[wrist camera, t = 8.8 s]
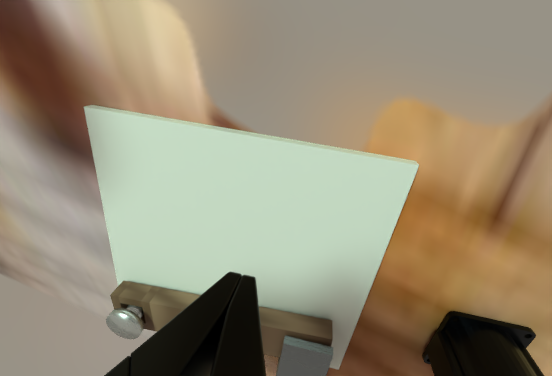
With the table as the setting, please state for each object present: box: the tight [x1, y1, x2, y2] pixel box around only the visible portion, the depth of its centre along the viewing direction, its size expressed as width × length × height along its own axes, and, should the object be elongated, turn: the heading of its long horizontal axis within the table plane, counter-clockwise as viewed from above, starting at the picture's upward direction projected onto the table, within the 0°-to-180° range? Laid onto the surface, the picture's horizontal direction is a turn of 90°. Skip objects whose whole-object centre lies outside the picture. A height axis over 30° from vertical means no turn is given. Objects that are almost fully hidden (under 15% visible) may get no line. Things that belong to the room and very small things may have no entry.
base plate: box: [84, 105, 419, 370], centre depth 22 cm, size 23×22×4 cm
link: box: [110, 281, 333, 358], centre depth 25 cm, size 20×4×2 cm, turn 87°
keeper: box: [276, 336, 333, 376], centre depth 25 cm, size 4×6×3 cm, turn 173°
